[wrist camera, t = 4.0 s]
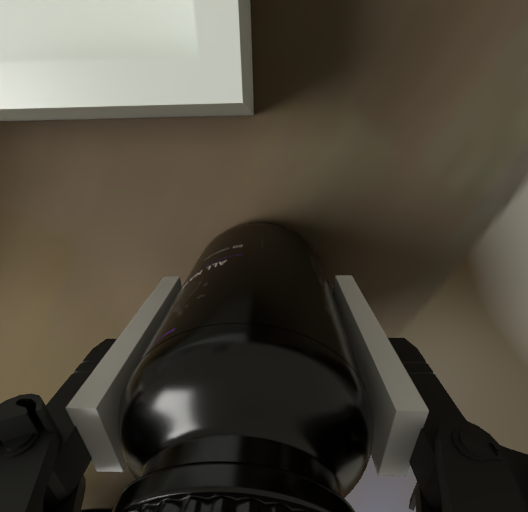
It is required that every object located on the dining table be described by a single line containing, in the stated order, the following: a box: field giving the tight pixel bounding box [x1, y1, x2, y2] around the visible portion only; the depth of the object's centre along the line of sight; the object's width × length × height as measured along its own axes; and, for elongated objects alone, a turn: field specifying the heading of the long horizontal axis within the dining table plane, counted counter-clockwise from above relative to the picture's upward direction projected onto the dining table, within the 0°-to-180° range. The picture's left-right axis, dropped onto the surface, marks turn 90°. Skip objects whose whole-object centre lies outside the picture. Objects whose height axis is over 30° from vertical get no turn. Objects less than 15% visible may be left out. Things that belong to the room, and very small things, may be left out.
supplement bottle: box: [112, 223, 374, 512], centre depth 9 cm, size 7×7×12 cm
